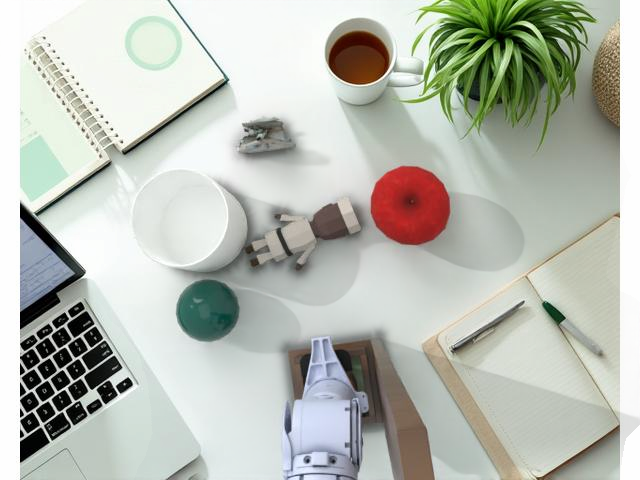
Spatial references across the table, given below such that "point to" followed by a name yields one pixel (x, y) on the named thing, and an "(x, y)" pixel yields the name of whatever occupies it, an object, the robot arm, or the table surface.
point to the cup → (188, 221)
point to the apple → (410, 205)
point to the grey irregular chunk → (264, 136)
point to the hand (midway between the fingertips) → (333, 393)
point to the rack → (382, 406)
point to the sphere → (207, 310)
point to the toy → (306, 233)
